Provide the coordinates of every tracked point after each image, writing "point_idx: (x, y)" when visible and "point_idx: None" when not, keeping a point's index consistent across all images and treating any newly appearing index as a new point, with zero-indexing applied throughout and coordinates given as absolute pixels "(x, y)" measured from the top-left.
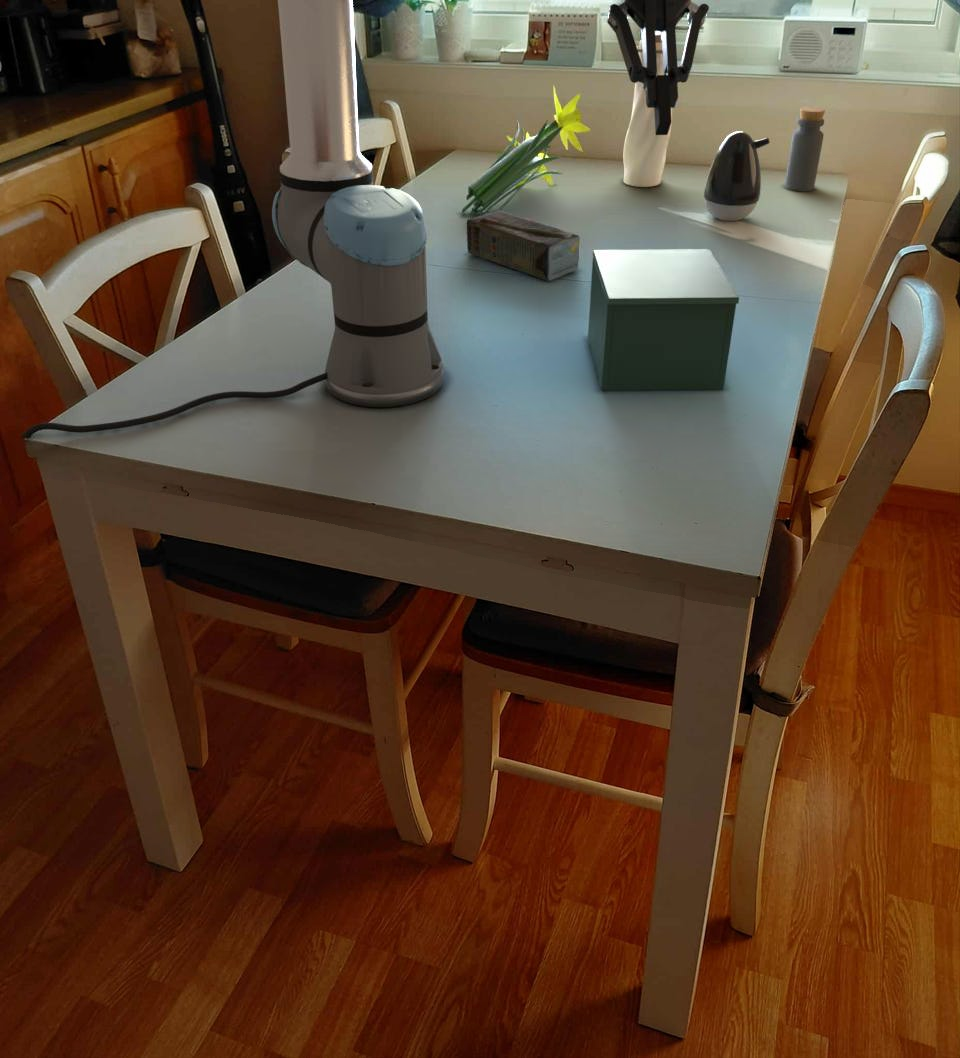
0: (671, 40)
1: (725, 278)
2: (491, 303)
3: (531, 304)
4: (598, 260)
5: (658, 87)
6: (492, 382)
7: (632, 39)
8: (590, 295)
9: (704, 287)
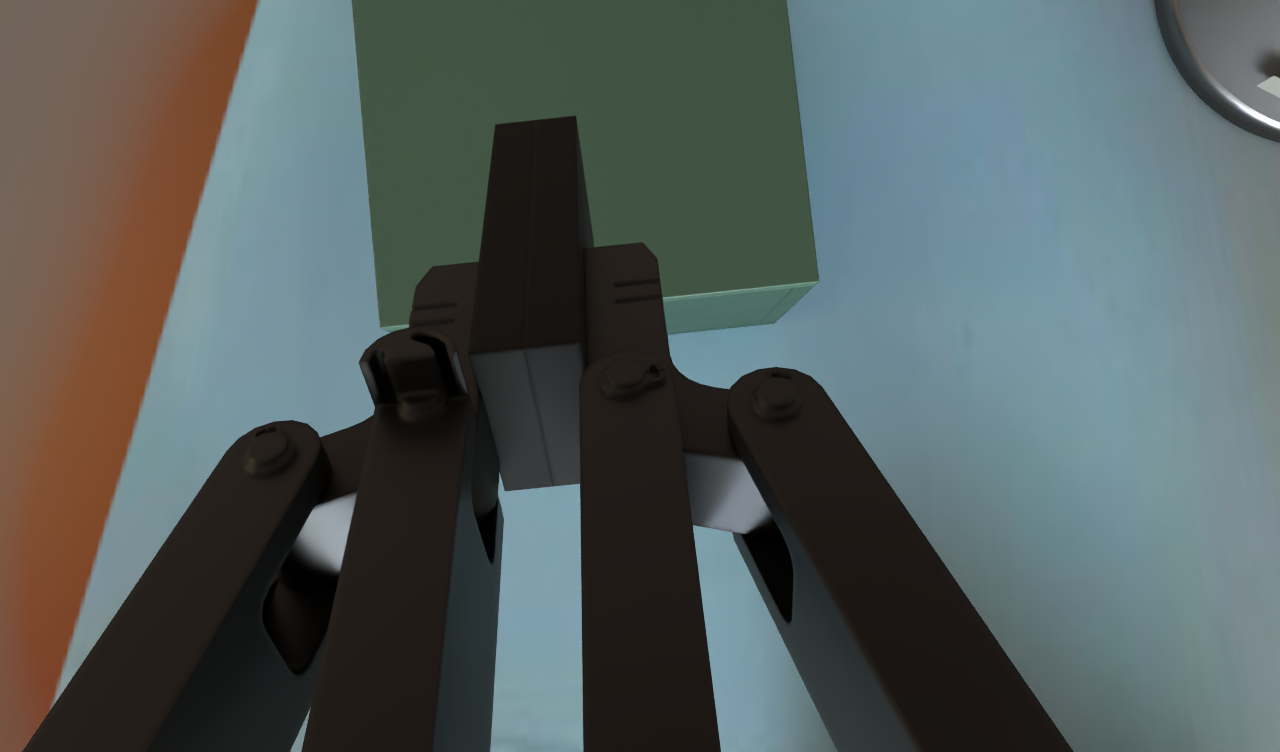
0: (368, 718)
1: (361, 22)
2: (1086, 574)
3: (956, 575)
4: (799, 166)
5: (572, 267)
6: (1023, 17)
7: (902, 672)
8: (793, 305)
9: None
